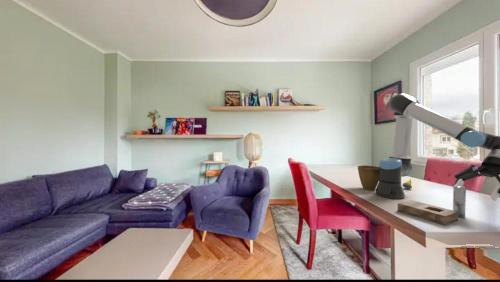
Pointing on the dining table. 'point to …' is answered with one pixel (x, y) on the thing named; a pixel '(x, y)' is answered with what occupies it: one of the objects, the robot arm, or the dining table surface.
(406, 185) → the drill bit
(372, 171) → the plant pot
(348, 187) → the dining table surface
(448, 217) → the tool block
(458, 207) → the metal peg
